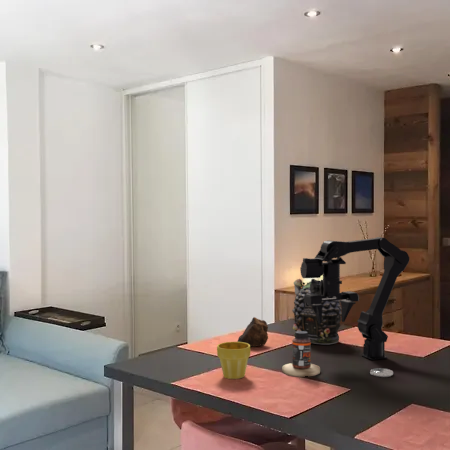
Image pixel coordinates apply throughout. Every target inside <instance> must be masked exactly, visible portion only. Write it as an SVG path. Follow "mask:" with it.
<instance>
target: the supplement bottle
mask: <svg viewBox="0 0 450 450" xmlns="http://www.w3.org/2000/svg"><path fill="white" fill-rule="evenodd" d="M294 334H295V336H294V338H293V339H292V345H291V347H292V349H291V350H292V353H291V355H292V356H291V357H292V359H291V362H292V366H293V367H294V368H298V369H307V368H310V367H311V364H312V347H311V346H312V345H311V344H312V343H311V340H310V339H309V338H308V332H306V331H296V332H295V331H294Z"/></svg>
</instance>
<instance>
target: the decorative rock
mask: <svg viewBox="0 0 450 450" xmlns="http://www.w3.org/2000/svg"><path fill="white" fill-rule="evenodd" d="M268 328H269V326H268V323H267V322H266V321H265V320H264V319H263V320H262V319H259V318H257V317H255V316H253V318H252V319H251V321H250V322H249V324H248V325H247V326H246V327H245V329H244V331H243V333H242V334H241V335H240V336H239V337H238V339H237V341H236V342H244V343H248V344H249V345H250V347H254V348H255V347H257V346H258V347H259V346H265V345H266V344H267V342H268V339H269V336H268V335H269V334H268Z"/></svg>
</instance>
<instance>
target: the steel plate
mask: <svg viewBox="0 0 450 450" xmlns="http://www.w3.org/2000/svg"><path fill="white" fill-rule="evenodd" d="M369 374H370V375H372V376H374V377H380V378H389V377H390V378H391V377H392V376H394V371H393V370H391V369H389V368H382V367H379V368H378V367H377V368H371V369H370V370H369Z"/></svg>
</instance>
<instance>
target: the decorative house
mask: <svg viewBox="0 0 450 450" xmlns="http://www.w3.org/2000/svg"><path fill="white" fill-rule="evenodd" d="M319 279H320V278H317V279H316V278H311V280H310V281H309V282H306V283H305V282H304V281H303V280H302V279H301V278H296V279H295V280H294V281H293V285H294V294H295V296H294V298H295V299H294V301H293V304H294V307H293V309H292V310H291V312H292V313H293V316H294V317H293V318H294V320H293V326H292V327H291V328H292V329H293V330H294V333H293V336H294V337H295V332H296V331H306V332H308V338H309V339H310V340H311V344H316V345H333V344H337V343H338V342H339V341H340V335H339V333H338V332H339V330H340V329H339V328H340V327H341V322H342V318H341V311H342V306H341V303H340V300H330V301H322V302H321V303H320V304H321V305H323V308H322V321H321V324H319V323H318V321H317V318H316V315H315V312H314V310H313V308H312V307H311V306H310V305H308V304H307V303H305V302H304V296H305V294H315V293H311V292H310V284H312V283H317V285H320V284H321V280H319ZM321 296H323V295H321ZM334 298H335V297H334Z"/></svg>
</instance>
